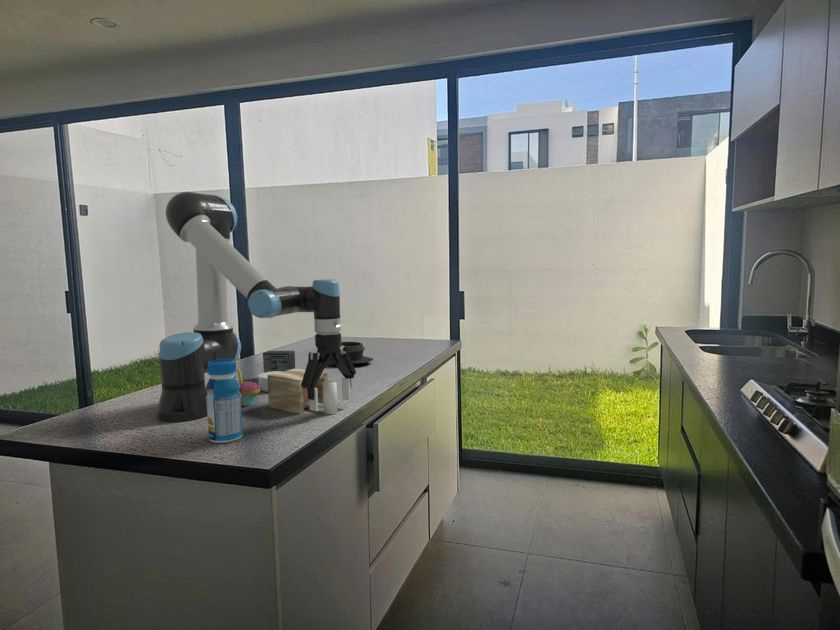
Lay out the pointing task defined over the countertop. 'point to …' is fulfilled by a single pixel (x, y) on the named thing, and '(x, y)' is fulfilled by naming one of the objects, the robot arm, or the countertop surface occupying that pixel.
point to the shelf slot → (290, 390)
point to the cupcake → (248, 391)
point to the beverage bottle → (223, 402)
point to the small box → (278, 360)
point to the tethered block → (325, 398)
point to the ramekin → (265, 380)
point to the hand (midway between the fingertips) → (331, 404)
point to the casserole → (356, 352)
